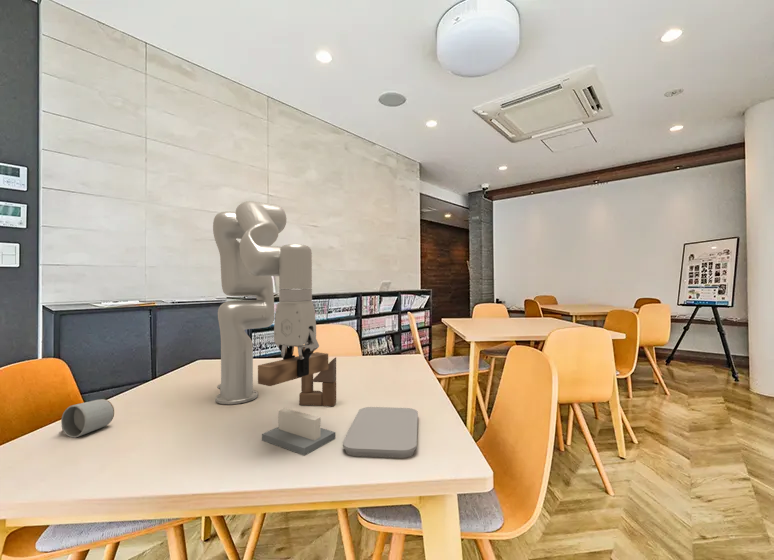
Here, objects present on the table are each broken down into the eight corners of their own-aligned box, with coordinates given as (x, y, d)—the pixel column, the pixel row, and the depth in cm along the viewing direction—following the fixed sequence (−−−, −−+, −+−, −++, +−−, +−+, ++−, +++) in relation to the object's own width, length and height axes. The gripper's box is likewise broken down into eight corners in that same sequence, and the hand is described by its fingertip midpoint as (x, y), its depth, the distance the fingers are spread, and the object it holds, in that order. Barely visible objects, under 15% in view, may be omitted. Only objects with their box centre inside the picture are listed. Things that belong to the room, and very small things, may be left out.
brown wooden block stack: (333, 406, 107) (333, 346, 108) (298, 405, 109) (298, 346, 109) (336, 402, 111) (336, 344, 111) (303, 401, 112) (303, 344, 113)
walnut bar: (269, 386, 76) (269, 367, 76) (257, 383, 78) (257, 365, 78) (328, 369, 91) (328, 353, 91) (317, 367, 93) (316, 352, 93)
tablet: (339, 458, 76) (339, 447, 76) (360, 414, 102) (360, 406, 102) (416, 461, 74) (416, 450, 74) (417, 416, 100) (417, 408, 100)
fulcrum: (261, 440, 84) (261, 414, 84) (294, 426, 93) (294, 402, 93) (304, 455, 77) (304, 427, 77) (335, 438, 85) (335, 413, 85)
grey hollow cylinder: (117, 425, 93) (117, 396, 94) (85, 439, 85) (84, 406, 86) (84, 423, 96) (84, 394, 96) (49, 436, 88) (49, 404, 88)
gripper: (259, 297, 87) (260, 373, 86) (309, 297, 77) (309, 383, 77) (284, 296, 93) (284, 367, 92) (332, 296, 83) (333, 375, 83)
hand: (296, 373), depth 85 cm, fingers closed on walnut bar, 4 cm apart
